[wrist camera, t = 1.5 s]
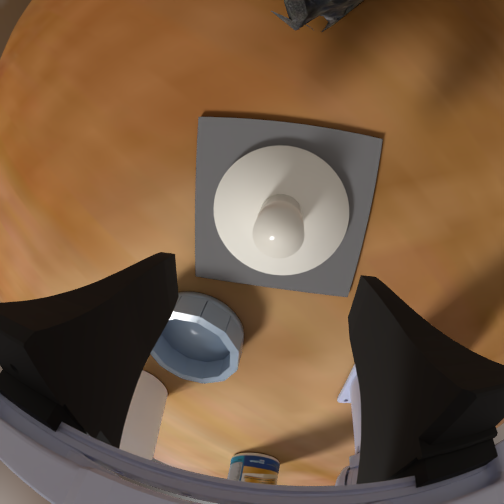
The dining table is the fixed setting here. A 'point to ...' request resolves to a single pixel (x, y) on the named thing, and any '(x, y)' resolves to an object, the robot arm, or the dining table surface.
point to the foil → (316, 11)
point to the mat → (291, 134)
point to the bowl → (200, 339)
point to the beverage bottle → (254, 468)
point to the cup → (144, 417)
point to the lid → (281, 210)
